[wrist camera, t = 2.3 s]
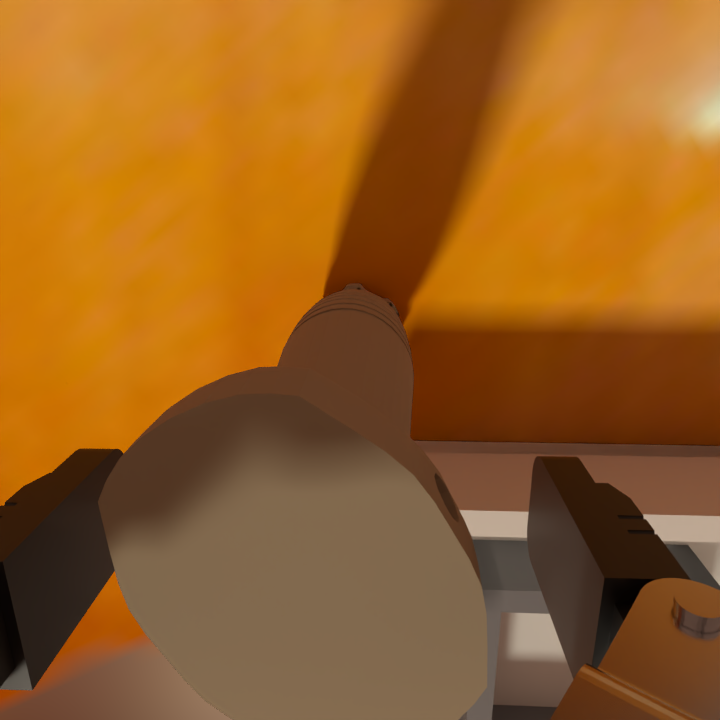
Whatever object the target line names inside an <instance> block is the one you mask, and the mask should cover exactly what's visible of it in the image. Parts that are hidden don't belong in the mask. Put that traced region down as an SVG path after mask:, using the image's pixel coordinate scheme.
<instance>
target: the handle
mask: <svg viewBox="0 0 720 720" xmlns="http://www.w3.org/2000/svg"><path fill="white" fill-rule="evenodd" d="M413 385H414V372H413V364H412V356H411V350H410V346H409V343H408V339H407V336H406V332H405V329H404V327H403V325H402V323H401V321H400V317H399V313H398V311H397V309H396V306H395V305H394V304H393V302H392V301H391V300H389V299H388V298H381V297H379V296H377V295H376V294H373V293H371V292H368V291H367V290H366V289H365V288H364V287H363V286H362V284H360V283H351V284H348V285H346V287H345V288H344V289H343V290H342V291H339V292H335V293H333V294H331V295H329V296H326V297H325V298H323V299H321V300H320V301H319V302H318V303H316V304H315V305H314V306H313V307H312V308H311V309H310V310H309V311H308V312H307V313H306V314H305V315H304V316H303V317H302V319H301V320H300V321H299V323H298V324H297V325H296V327H295V328H294V330H293V332H292V334H291V335H290V337H289V339H288V341H287V343H286V345H285V347H284V349H283V352H282V354H281V357H280V360H279V363H278V366H277V367H258V368H255V369H251V370H247V371H243V372H239V373H235V374H232V375H228V376H226V377H223V378H221V379H219V380H217V381H214V382H212V383H210V384H208V385H206V386H203V387H201V388H199V389H197V390H195V391H194V392H192V393H191V394H189V395H188V396H186V397H185V398H183V399H182V400H180V401H179V402H177V403H176V404H174V405H173V406H171V407H170V408H169V409H168V410H166V411H165V412H164V413H163V414H162V415H161V416H160V417H159V418H158V419H157V420H156V421H155V422H154V423H153V424H152V425H151V426H150V427H149V428H148V429H147V430H146V431H145V432H144V433H143V434H142V435H141V436H140V437H139V438H138V439H137V440H136V441H135V442H134V443H133V444H132V445H131V446H130V448H129V449H128V450H127V451H126V452H125V453H124V454H123V455H122V456H121V457H120V459H119V460H118V462H117V463H116V465H115V467H114V468H113V470H112V472H111V473H110V475H109V477H108V478H107V480H106V482H105V485H104V487H103V490H102V492H101V495H100V497H99V500H98V505H99V509H100V513H101V518H102V522H103V526H104V530H105V534H106V539H107V543H108V547H109V551H110V555H111V558H112V562H113V566H114V569H115V573H116V577H117V580H118V584H119V586H120V589H121V591H122V593H123V596H124V598H125V601H126V603H127V606H128V608H129V610H130V612H131V613H132V615H133V616H134V618H135V619H136V621H137V622H138V623H139V625H140V626H141V628H142V629H143V631H144V632H145V634H146V635H147V636H148V638H149V639H150V640H151V641H152V642H153V643H154V645H155V646H156V647H157V648H158V649H159V651H160V652H161V653H162V654H163V655H164V657H165V658H166V659H167V660H168V661H169V662H170V664H171V665H172V666H173V667H174V668H175V670H176V671H177V672H178V673H179V674H180V676H181V677H182V678H183V679H184V680H185V681H186V682H187V684H189V685H190V686H191V687H192V688H193V689H194V690H195V691H196V692H197V693H198V694H199V695H200V696H201V697H202V698H203V699H204V700H205V701H206V702H207V703H209V704H210V705H212V706H213V707H214V708H216V709H217V710H219V711H220V712H222V713H224V714H225V715H226V716H228V717H229V718H231V719H232V720H458V719H459V718H460V717H461V716H462V715H463V714H464V713H465V712H466V711H467V710H469V709H470V708H471V707H472V706H473V705H474V704H475V702H476V701H477V700H478V698H479V697H480V696H481V694H482V693H483V692H484V690H485V689H486V688H487V647H488V646H487V614H486V608H485V602H484V596H483V591H482V585H481V578H480V571H479V565H478V560H477V556H476V552H475V548H474V544H473V540H472V537H471V534H470V532H469V530H468V527H467V525H466V523H465V521H464V519H463V517H462V515H461V513H460V511H459V509H458V506H457V505H456V503H455V501H454V499H453V497H452V495H451V494H450V492H449V490H448V488H447V486H446V484H445V482H444V480H443V478H442V476H441V474H440V472H439V471H438V469H437V468H436V467H435V465H434V464H433V463H432V461H431V460H430V459H429V458H428V456H427V455H426V454H425V452H424V451H423V450H422V449H421V448H420V447H419V446H418V445H417V444H416V443H415V441H414V440H413V439H412V438H411V437H410V431H411V415H412V400H413Z"/></svg>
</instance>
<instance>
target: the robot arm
mask: <svg viewBox="0 0 720 720" xmlns="http://www.w3.org/2000/svg"><path fill="white" fill-rule="evenodd" d="M122 455H123V452H122V451H121V450H119V449H78V450H77V451H75V452H74V453H73V454H72V455H71V456H70V457H69V458H67V459H66V460H65V461H64V462H63V463H62V464H61V465H60V466H58V467H57V468H56V469H55V470H54V471H53V472H52V473H49V474H47V475H45V476H43V477H41V478H39V479H37V480H35V481H33V482H31V483H29V484H27V485H25V486H23V487H22V488H21V489H20V490H19V491H18V492H16V493H15V494H14V495H13V496H12V497H11V498H9V499H8V500H7V501H6V502H5V505H4V506H0V689H9V690H33V689H34V687H35V686H36V684H37V683H38V681H39V680H40V679H41V677H42V676H43V674H44V673H45V671H46V670H47V668H48V667H49V665H50V664H51V662H52V661H53V660H54V658H55V657H56V655H57V654H58V652H59V651H60V649H61V648H62V646H63V645H64V644H65V642H66V641H67V639H68V638H69V636H70V635H71V633H72V632H73V630H74V629H75V628H76V626H77V625H78V623H79V622H80V620H81V619H82V617H83V616H84V614H85V613H86V612H87V610H88V609H89V607H90V606H91V604H92V603H93V601H94V600H95V598H96V597H97V596H98V594H99V593H100V591H101V590H102V588H103V587H104V585H105V584H106V582H107V581H108V579H109V578H110V577H111V575H112V574H113V572H114V571H115V569H114V566H113V562H112V558H111V555H110V551H109V547H108V543H107V539H106V534H105V530H104V526H103V522H102V518H101V513H100V509H99V505H98V500H99V497H100V495H101V492H102V490H103V487H104V485H105V482H106V480H107V478H108V477H109V475H110V473H111V472H112V470H113V468H114V467H115V465H116V463H117V462H118V460H119V459H120V457H121V456H122ZM654 531H655V530H654V529H653V528H652V526H651V525H650V524H649V522H648V521H647V520H646V519H644V516H643V514H642V513H641V512H640V510H639V509H638V508H637V506H636V505H635V504H634V502H633V501H632V499H631V498H630V497H628V496H627V495H625V494H624V493H622V492H621V491H619V490H618V489H616V488H615V487H613V486H612V485H610V484H609V483H595V481H594V480H593V478H592V477H591V475H590V474H589V472H588V471H587V469H586V468H585V466H584V465H583V463H582V462H581V460H580V459H579V458H578V457H567V456H537V457H536V458H535V460H534V464H533V470H532V481H531V492H530V502H529V513H528V524H527V544H528V552H529V557H530V561H531V564H532V567H533V570H534V573H535V575H536V578H537V581H538V584H539V586H540V589H541V592H542V595H543V597H544V600H545V603H546V605H547V608H548V611H549V614H550V616H551V619H552V622H553V625H554V627H555V630H556V633H557V636H558V638H559V641H560V644H561V647H562V649H563V652H564V655H565V658H566V660H567V663H568V666H569V669H570V671H571V674H572V677H573V681H572V683H571V685H570V686H569V688H568V690H567V691H566V693H565V695H564V697H563V698H562V700H561V702H560V703H559V705H558V707H557V708H556V710H555V712H554V714H553V715H552V717H551V719H550V720H720V590H718V589H715V588H713V587H711V586H708V585H705V584H702V583H699V582H696V581H692V580H691V579H690V578H689V576H688V575H687V574H686V572H685V571H684V570H683V568H682V567H681V566H680V564H679V563H678V562H677V560H676V559H675V557H674V556H673V555H672V553H671V552H670V551H669V549H668V548H667V547H666V545H665V544H664V543H663V541H662V540H661V539H660V537H659V536H658V535H657V534H655V532H654Z"/></svg>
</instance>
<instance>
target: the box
mask: <svg viewBox="0 0 720 720" xmlns="http://www.w3.org/2000/svg"><path fill="white" fill-rule="evenodd" d="M415 443H416V444H417V445H418V446H419V447H420V448H421V449H422V450H423V451H424V452H425V454H426V455H427V456H428V458H429V459H430V460H431V461H432V463H433V464H434V465H435V467H436V468H437V469H438V471H439V472H440V474H441V476H442V478H443V480H444V482H445V484H446V486H447V488H448V490H449V492H450V494H451V495H452V497H453V499H454V501H455V503H456V505H457V506H458V509H459V511H460V513H461V515H462V517H463V519H464V521H465V523H466V525H467V527H468V530H469V532H470V534H471V537H472V540H473V544H474V548H475V552H476V556H477V560H478V565H479V571H480V578H481V585H482V591H483V596H484V602H485V608H486V614H487V646H488V647H487V688H486V689H485V690H484V692H483V693H482V694H481V696H480V697H479V698H478V700H477V701H476V702H475V704H474V705H473V706H472V707H471V708H470V709H469V710H467V711H466V712H465V713H464V714H463V715H462V716H461V717H460V718H459V719H458V720H550V719H551V717H552V715H553V714H554V712H555V710H556V708H557V707H558V705H559V703H560V702H561V700H562V698H563V697H564V695H565V693H566V691H567V690H568V688H569V686H570V685H571V683H572V681H573V677H572V674H571V671H570V669H569V666H568V663H567V660H566V658H565V655H564V652H563V649H562V647H561V644H560V641H559V638H558V636H557V633H556V630H555V627H554V625H553V622H552V619H551V616H550V614H549V611H548V608H547V605H546V603H545V600H544V597H543V595H542V592H541V589H540V586H539V584H538V581H537V578H536V575H535V573H534V570H533V567H532V564H531V561H530V557H529V552H528V544H527V524H528V513H529V502H530V492H531V481H532V470H533V464H534V460H535V458H536V457H537V456H567V457H578V458H579V459H580V460H581V462H582V463H583V465H584V466H585V468H586V469H587V471H588V472H589V474H590V475H591V477H592V478H593V480H594V481H595V483H609V484H610V485H612V486H613V487H615V488H616V489H618V490H619V491H621V492H622V493H624V494H625V495H627V496H628V497H630V498H631V499H632V501H633V502H634V504H635V505H636V506H637V508H638V509H639V510H640V512H641V513H642V514H643V516H644V519H646V520H647V521H648V522H649V524H650V525H651V526H652V528H653V529H654V530H655V531H654V532H655V534H657V535H658V536H659V537H660V539H661V540H662V541H663V543H664V544H665V545H666V547H667V548H668V549H669V551H670V552H671V553H672V555H673V556H674V557H675V559H676V560H677V562H678V563H679V564H680V566H681V567H682V568H683V570H684V571H685V572H686V574H687V575H688V576H689V578H690V579H691V580H692V581H696V582H699V583H702V584H705V585H708V586H711V587H713V588H715V589H718V590H720V446H696V445H638V444H580V443H521V442H463V441H415Z"/></svg>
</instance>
